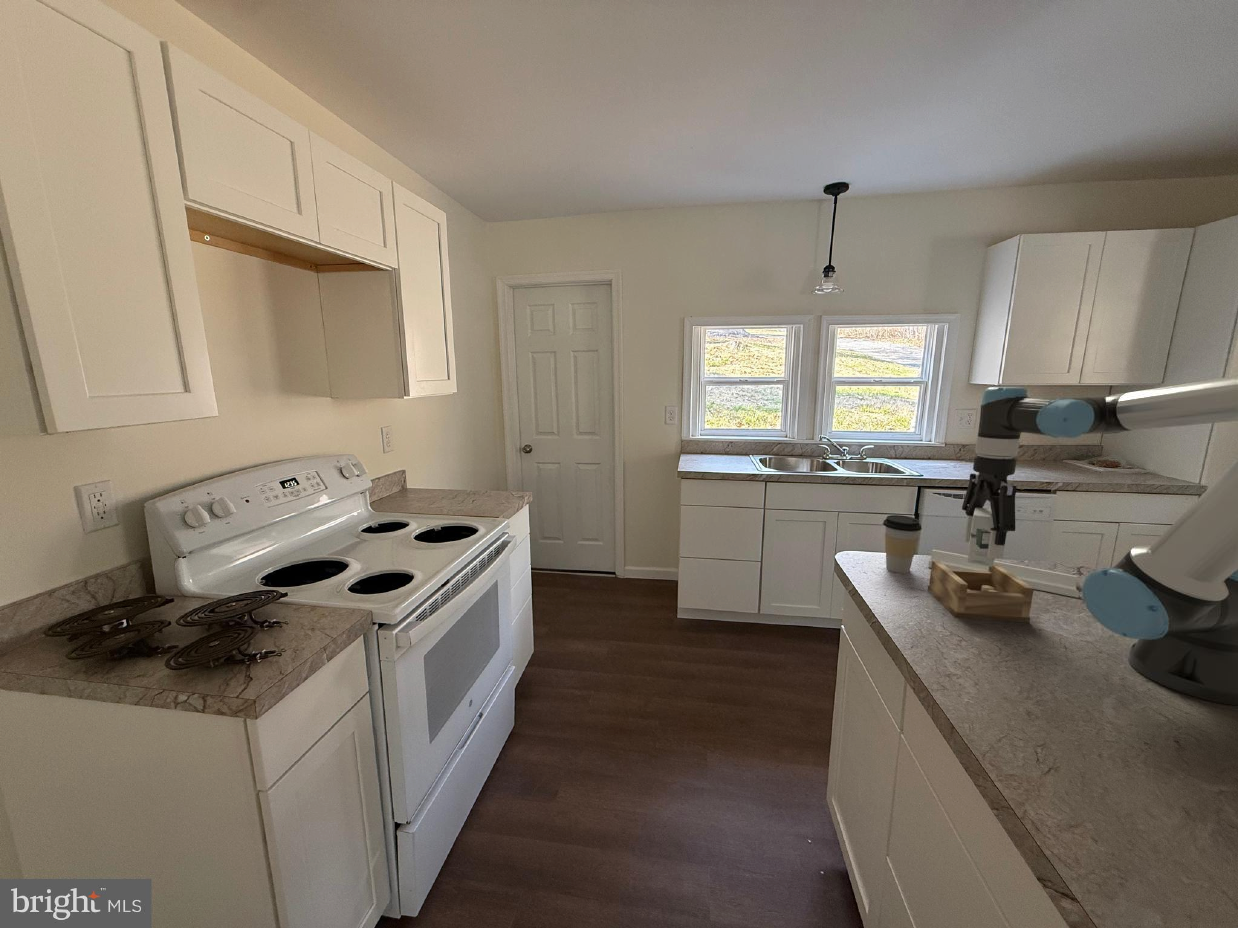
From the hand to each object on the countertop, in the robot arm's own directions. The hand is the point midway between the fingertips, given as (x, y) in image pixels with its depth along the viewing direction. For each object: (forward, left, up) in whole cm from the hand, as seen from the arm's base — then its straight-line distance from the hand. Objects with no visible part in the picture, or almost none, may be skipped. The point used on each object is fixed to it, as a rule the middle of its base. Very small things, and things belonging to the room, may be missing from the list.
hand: (982, 549), depth 110 cm
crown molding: (+20, -16, -15) cm, 30 cm away
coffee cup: (+20, +10, -14) cm, 27 cm away
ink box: (0, 0, -3) cm, 3 cm away
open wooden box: (0, 0, -14) cm, 14 cm away
